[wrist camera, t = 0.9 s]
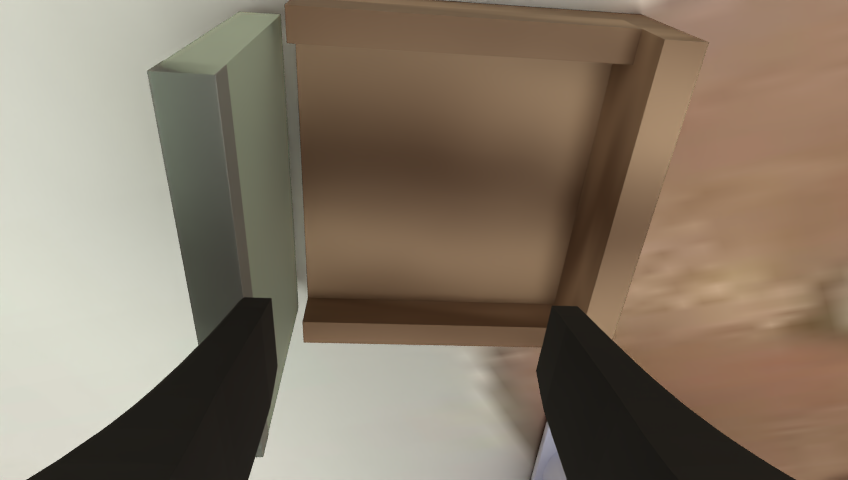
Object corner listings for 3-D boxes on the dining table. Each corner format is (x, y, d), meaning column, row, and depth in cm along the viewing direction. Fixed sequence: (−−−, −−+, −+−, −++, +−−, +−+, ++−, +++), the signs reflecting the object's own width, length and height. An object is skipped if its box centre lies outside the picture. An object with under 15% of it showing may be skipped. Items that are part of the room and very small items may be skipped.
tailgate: (298, 307, 22) (262, 456, 16) (267, 306, 22) (219, 456, 16) (281, 14, 16) (215, 75, 10) (238, 11, 16) (146, 71, 10)
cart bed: (567, 302, 24) (600, 375, 20) (313, 295, 23) (297, 370, 20) (641, 14, 18) (709, 42, 14) (300, -10, 17) (274, 13, 13)
